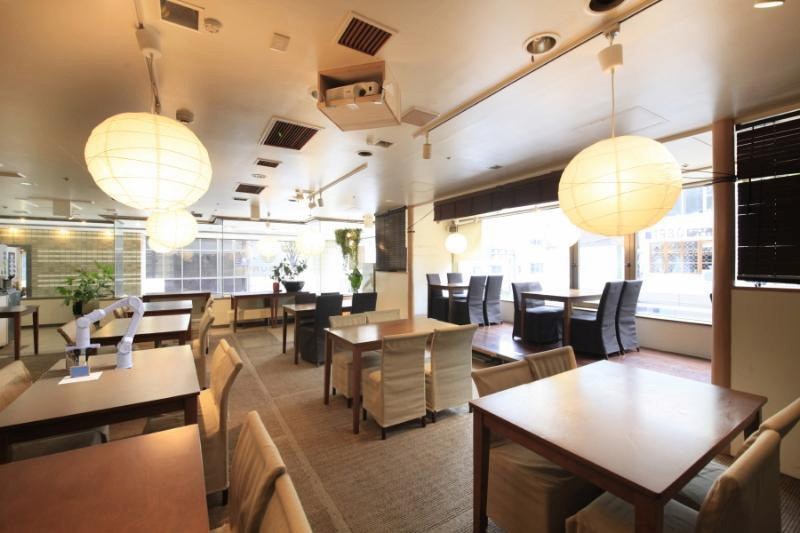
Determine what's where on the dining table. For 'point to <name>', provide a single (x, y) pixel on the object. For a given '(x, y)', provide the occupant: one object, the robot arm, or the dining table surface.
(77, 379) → the mat
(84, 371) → the tile
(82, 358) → the tall beige block
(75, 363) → the coffee box
